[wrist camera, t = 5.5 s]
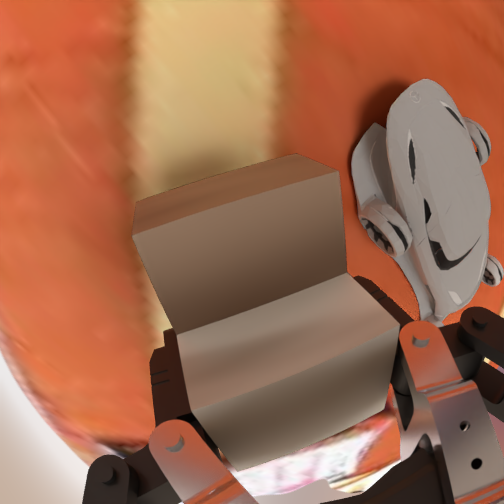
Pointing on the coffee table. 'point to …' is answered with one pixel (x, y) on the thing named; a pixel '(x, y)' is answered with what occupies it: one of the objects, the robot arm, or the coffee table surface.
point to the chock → (266, 307)
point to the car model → (428, 198)
